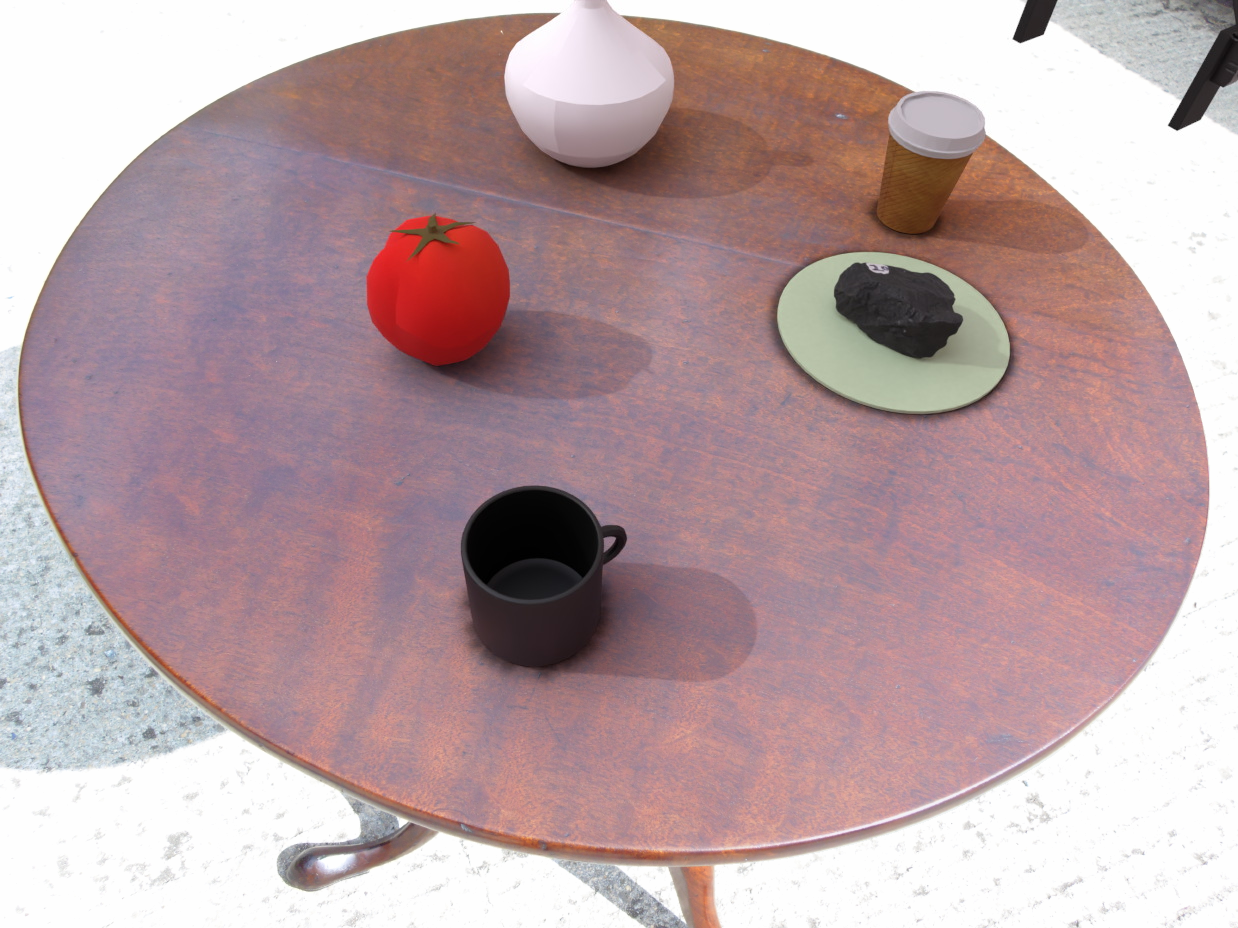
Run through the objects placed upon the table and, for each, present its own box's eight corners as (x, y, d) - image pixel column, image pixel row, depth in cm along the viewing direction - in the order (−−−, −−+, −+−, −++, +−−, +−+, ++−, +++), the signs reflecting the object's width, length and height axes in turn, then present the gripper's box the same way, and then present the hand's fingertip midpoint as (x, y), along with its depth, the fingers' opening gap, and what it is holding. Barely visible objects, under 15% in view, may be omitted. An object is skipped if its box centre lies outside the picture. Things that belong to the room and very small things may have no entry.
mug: (654, 620, 67) (664, 552, 60) (503, 690, 63) (495, 627, 56) (594, 525, 72) (597, 453, 65) (451, 585, 68) (438, 515, 61)
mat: (1057, 354, 87) (1059, 351, 86) (890, 450, 78) (892, 447, 78) (892, 230, 98) (893, 227, 97) (730, 302, 89) (731, 299, 89)
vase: (654, 98, 112) (667, -71, 97) (681, 187, 101) (700, 11, 86) (503, 103, 110) (493, -69, 95) (513, 195, 99) (503, 16, 84)
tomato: (367, 319, 86) (339, 200, 75) (494, 292, 89) (484, 173, 79) (394, 407, 79) (368, 289, 69) (531, 374, 82) (525, 256, 72)
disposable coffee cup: (944, 194, 102) (982, 93, 93) (955, 248, 96) (997, 145, 87) (858, 186, 102) (887, 84, 93) (864, 239, 96) (896, 136, 87)
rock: (827, 294, 90) (841, 246, 85) (930, 298, 90) (950, 251, 86) (839, 360, 85) (855, 312, 80) (949, 364, 85) (971, 317, 80)
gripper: (1050, -343, 54) (938, 17, 71) (1486, -221, 42) (1226, 182, 58) (1129, -354, 57) (1003, -5, 74) (1559, -242, 45) (1291, 148, 61)
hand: (1101, 78), depth 66 cm, fingers open, 13 cm apart
